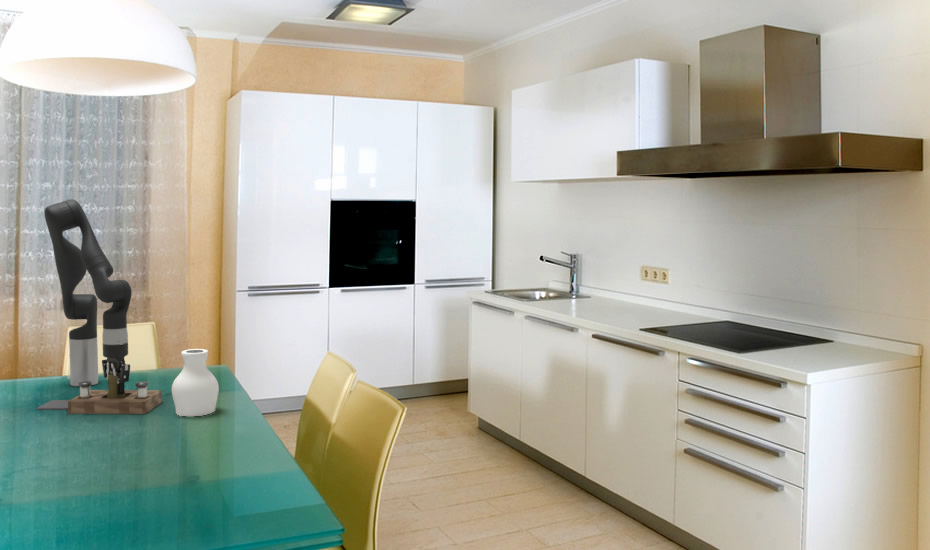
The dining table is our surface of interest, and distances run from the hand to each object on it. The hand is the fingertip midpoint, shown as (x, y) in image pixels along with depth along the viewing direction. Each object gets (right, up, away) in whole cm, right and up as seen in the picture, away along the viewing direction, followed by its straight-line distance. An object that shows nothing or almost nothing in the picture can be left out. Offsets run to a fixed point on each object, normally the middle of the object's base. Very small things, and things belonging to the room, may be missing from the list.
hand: (116, 392), depth 248 cm
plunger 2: (+9, -4, -1) cm, 10 cm away
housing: (0, -5, 0) cm, 5 cm away
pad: (-19, -4, +1) cm, 20 cm away
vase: (+27, -6, -4) cm, 28 cm away
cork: (0, -5, 0) cm, 5 cm away
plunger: (-9, -4, -2) cm, 10 cm away
